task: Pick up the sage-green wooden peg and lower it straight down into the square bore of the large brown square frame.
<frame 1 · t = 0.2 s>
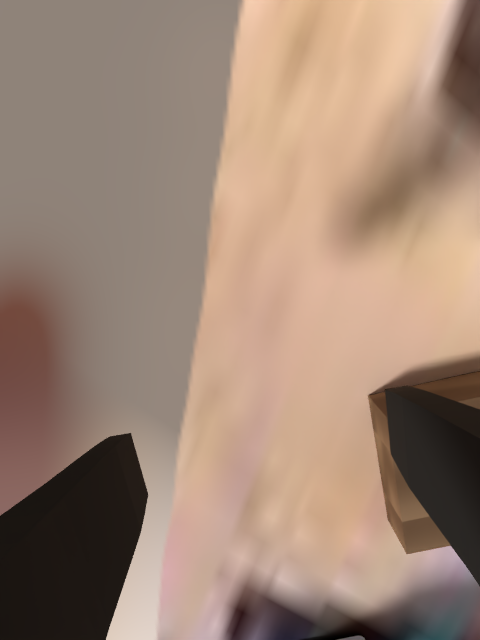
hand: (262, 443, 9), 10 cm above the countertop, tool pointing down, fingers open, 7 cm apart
brown square frame: (450, 445, 21), on the countertop
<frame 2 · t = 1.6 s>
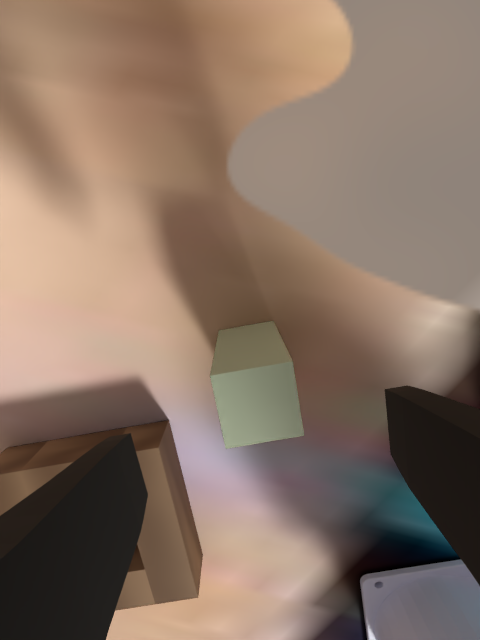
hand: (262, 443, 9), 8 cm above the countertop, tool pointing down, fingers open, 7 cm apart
sage peg: (250, 351, 17), on the countertop
brown square frame: (109, 503, 19), on the countertop
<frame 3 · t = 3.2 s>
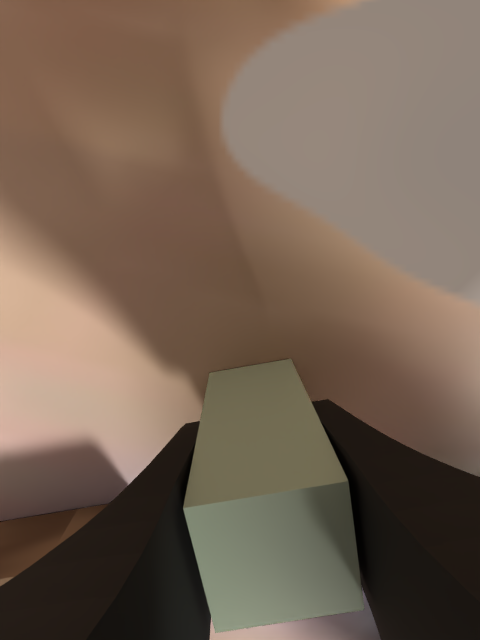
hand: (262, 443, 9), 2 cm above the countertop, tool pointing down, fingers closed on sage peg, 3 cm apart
sage peg: (256, 402, 12), on the countertop, touching gripper
brown square frame: (56, 610, 14), on the countertop
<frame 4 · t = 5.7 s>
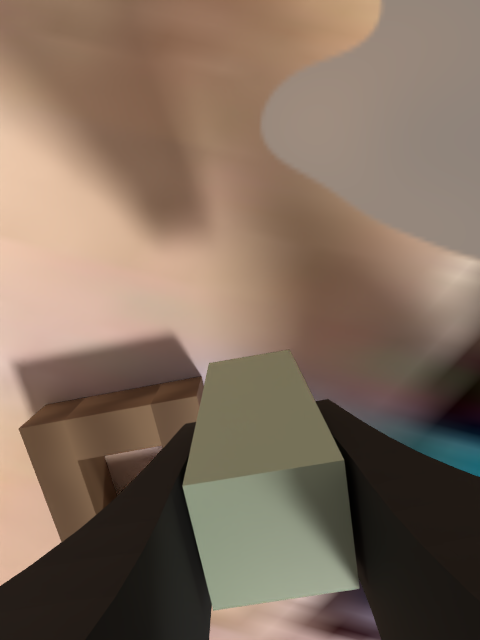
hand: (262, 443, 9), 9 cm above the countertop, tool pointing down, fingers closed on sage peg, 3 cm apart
sage peg: (255, 393, 12), point 7 cm above the countertop, touching gripper
brown square frame: (143, 459, 20), on the countertop
when the fingers open (4 cm above the countertop, at t = 8.4 s): sage peg drops 1 cm, resting in brown square frame.
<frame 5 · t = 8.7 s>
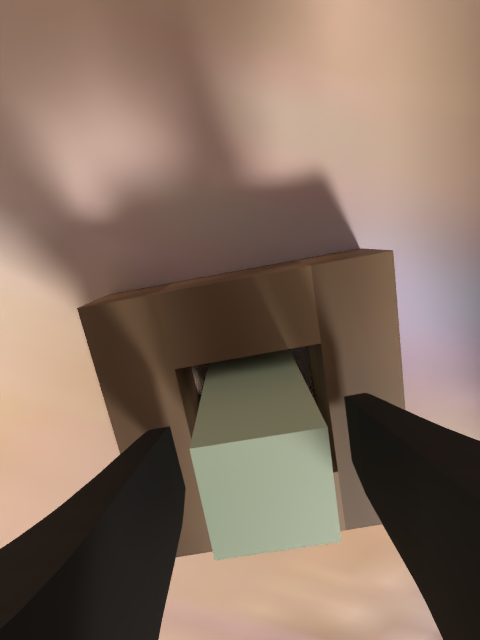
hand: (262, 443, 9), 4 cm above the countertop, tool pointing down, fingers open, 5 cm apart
sage peg: (253, 381, 13), resting in brown square frame
brown square frame: (255, 388, 13), on the countertop
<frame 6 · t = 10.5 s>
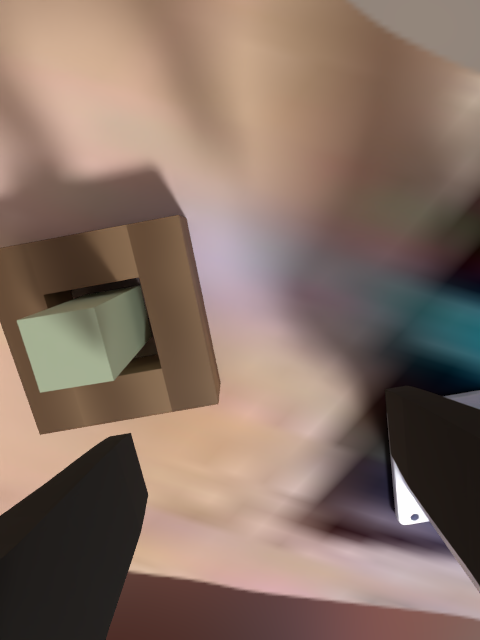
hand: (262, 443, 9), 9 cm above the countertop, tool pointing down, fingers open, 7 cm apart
sage peg: (120, 315, 18), resting in brown square frame
brown square frame: (121, 320, 18), on the countertop
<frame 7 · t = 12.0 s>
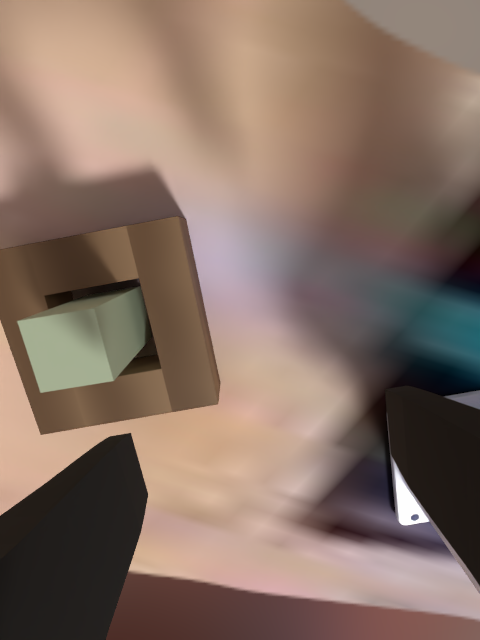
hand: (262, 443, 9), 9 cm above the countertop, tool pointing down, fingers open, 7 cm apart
sage peg: (120, 316, 18), resting in brown square frame
brown square frame: (121, 320, 18), on the countertop
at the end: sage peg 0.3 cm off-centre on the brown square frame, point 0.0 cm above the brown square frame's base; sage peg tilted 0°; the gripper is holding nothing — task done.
